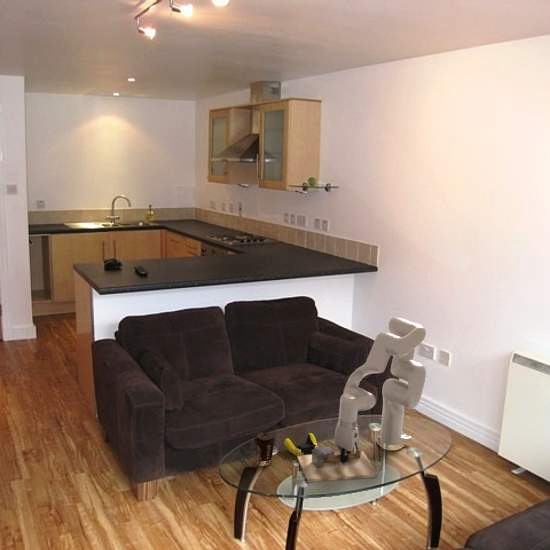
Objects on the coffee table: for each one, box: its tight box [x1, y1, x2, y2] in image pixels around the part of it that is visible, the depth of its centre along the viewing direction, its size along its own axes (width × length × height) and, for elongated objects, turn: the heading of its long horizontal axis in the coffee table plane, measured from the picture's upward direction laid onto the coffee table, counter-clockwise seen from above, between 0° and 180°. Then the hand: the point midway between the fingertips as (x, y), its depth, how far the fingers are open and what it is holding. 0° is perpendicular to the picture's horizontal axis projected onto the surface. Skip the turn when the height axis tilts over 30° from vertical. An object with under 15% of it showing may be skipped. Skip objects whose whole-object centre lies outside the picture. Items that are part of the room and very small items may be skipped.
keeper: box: [311, 445, 335, 468], centre depth 257 cm, size 8×5×6 cm, turn 113°
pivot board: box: [296, 444, 378, 482], centre depth 257 cm, size 30×18×7 cm, turn 101°
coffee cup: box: [254, 431, 276, 462], centre depth 257 cm, size 9×8×13 cm
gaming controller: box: [283, 432, 319, 457], centre depth 268 cm, size 15×6×10 cm
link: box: [324, 447, 362, 463], centre depth 261 cm, size 18×4×3 cm, turn 111°
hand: (344, 461), depth 258 cm, fingers closed
